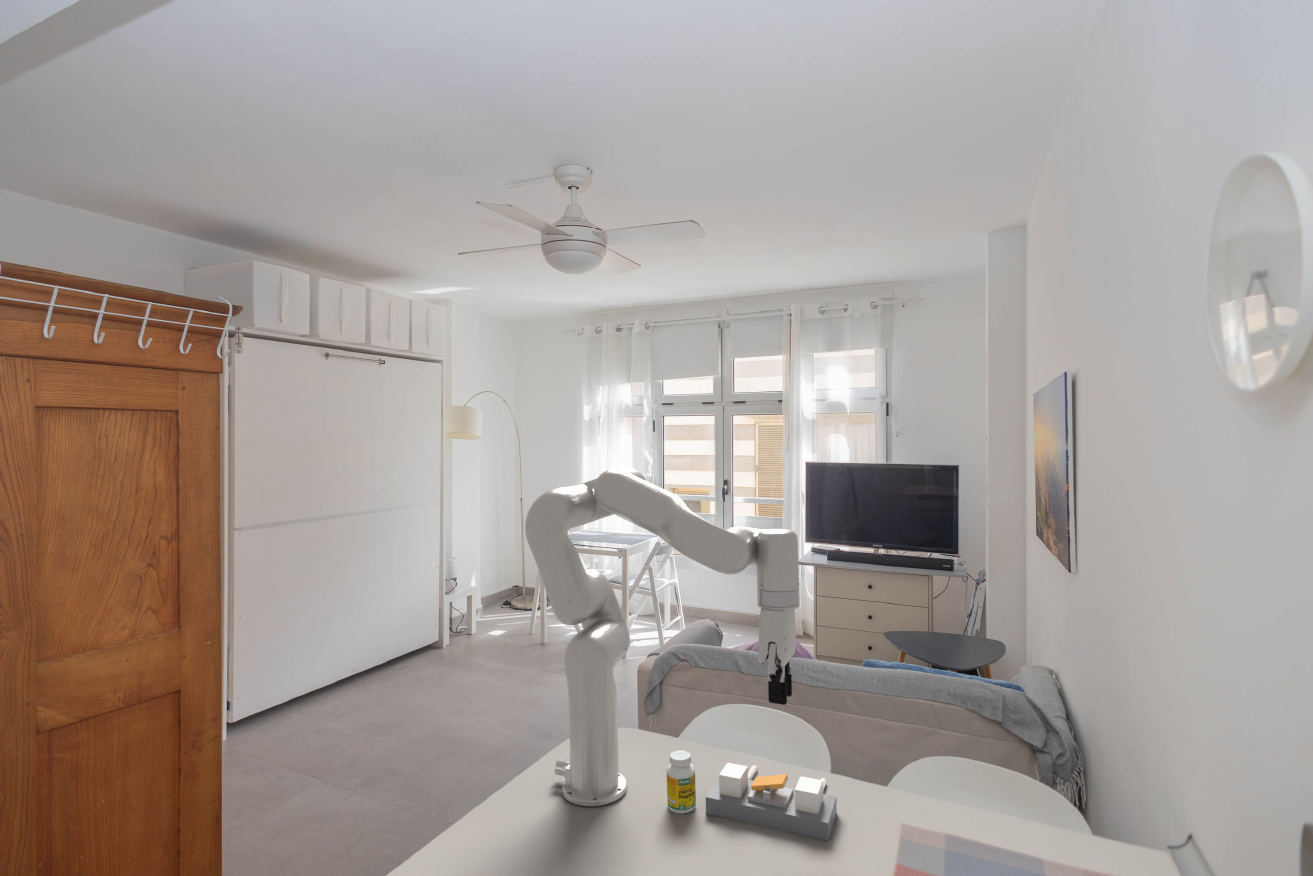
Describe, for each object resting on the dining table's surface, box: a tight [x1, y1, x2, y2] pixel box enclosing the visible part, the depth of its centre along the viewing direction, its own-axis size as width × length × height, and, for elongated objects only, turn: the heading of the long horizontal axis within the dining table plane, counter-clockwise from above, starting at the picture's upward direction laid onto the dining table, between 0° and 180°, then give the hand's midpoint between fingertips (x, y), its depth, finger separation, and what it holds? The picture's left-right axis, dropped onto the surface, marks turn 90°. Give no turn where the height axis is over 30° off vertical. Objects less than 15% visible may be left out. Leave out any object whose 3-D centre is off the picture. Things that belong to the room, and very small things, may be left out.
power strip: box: [705, 762, 838, 842], centre depth 124 cm, size 22×19×6 cm
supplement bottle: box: [666, 750, 697, 815], centre depth 122 cm, size 5×5×10 cm
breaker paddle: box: [751, 773, 789, 791], centre depth 119 cm, size 6×4×1 cm, turn 66°
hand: (780, 698), depth 119 cm, fingers open, 3 cm apart
